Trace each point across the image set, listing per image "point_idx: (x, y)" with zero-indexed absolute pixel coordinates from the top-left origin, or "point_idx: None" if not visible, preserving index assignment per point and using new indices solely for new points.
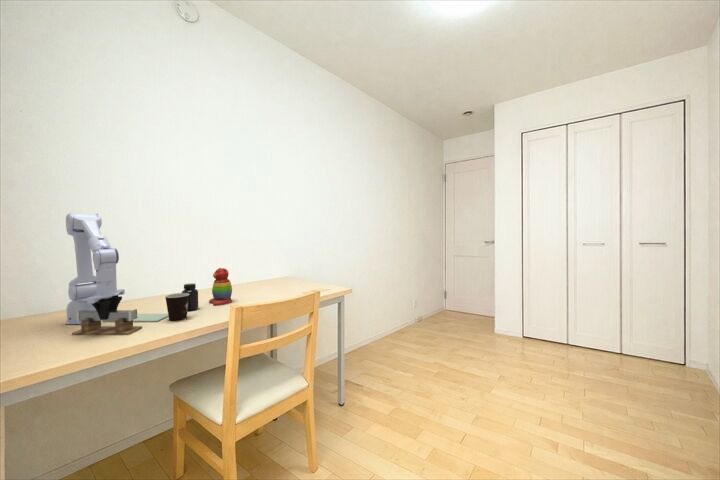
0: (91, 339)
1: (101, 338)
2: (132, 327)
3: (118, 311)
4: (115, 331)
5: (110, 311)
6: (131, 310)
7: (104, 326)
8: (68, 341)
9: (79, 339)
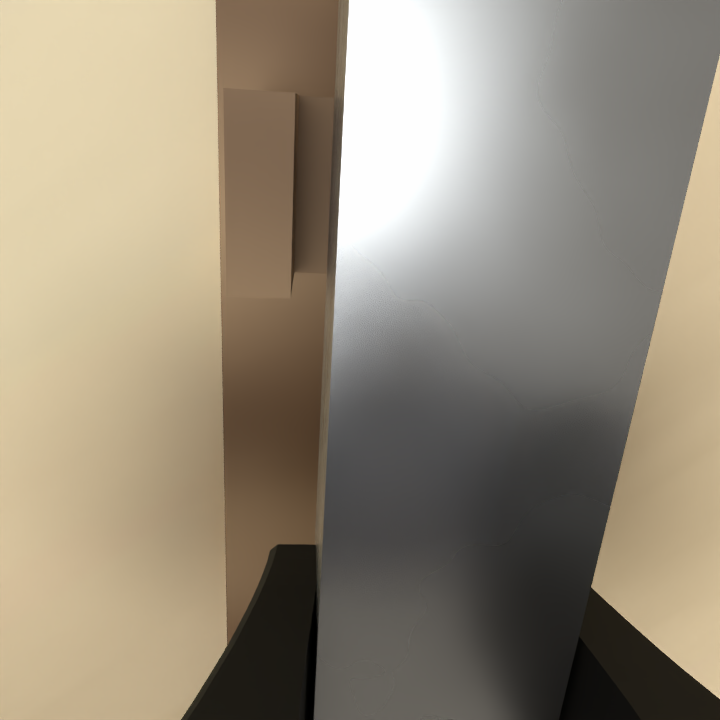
0: (708, 423)
1: (700, 316)
2: (299, 84)
3: (491, 444)
4: None
5: (451, 668)
6: (372, 10)
7: (236, 599)
8: (711, 623)
9: (666, 562)
